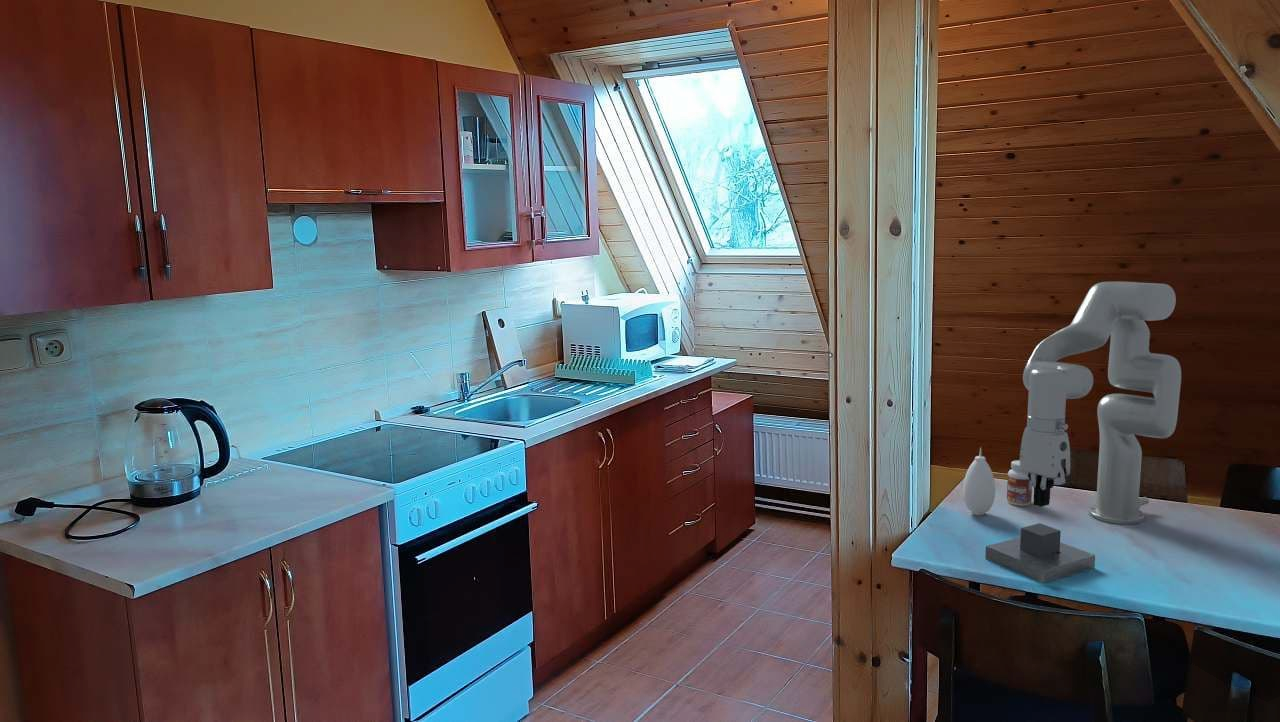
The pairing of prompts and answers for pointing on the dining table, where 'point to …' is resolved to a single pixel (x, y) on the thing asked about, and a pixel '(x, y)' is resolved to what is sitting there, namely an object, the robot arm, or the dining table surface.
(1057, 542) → the plug
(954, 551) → the dining table surface
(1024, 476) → the pill bottle
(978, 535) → the dining table surface
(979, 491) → the air blower bulb
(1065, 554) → the socket
